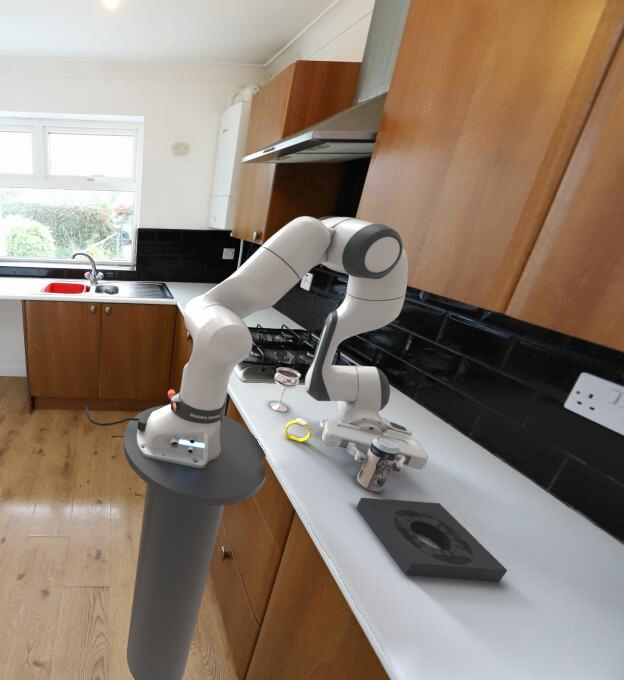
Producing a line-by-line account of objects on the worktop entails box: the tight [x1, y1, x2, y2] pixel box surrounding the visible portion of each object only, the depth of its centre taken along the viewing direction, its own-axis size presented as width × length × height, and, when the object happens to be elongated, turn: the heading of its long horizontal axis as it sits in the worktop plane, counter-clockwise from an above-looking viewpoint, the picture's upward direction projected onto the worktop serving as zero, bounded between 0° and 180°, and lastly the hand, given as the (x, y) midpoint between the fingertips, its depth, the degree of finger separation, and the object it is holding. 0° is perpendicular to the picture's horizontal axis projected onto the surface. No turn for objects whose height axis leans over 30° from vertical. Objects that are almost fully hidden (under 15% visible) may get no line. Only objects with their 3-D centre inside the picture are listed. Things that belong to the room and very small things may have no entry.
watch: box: [284, 417, 312, 443], centre depth 92 cm, size 6×3×6 cm, turn 65°
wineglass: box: [269, 366, 302, 412], centre depth 106 cm, size 7×7×12 cm
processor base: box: [356, 497, 508, 583], centre depth 66 cm, size 16×14×3 cm
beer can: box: [356, 437, 399, 493], centre depth 77 cm, size 5×5×12 cm
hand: (379, 464), depth 76 cm, fingers open, 6 cm apart
